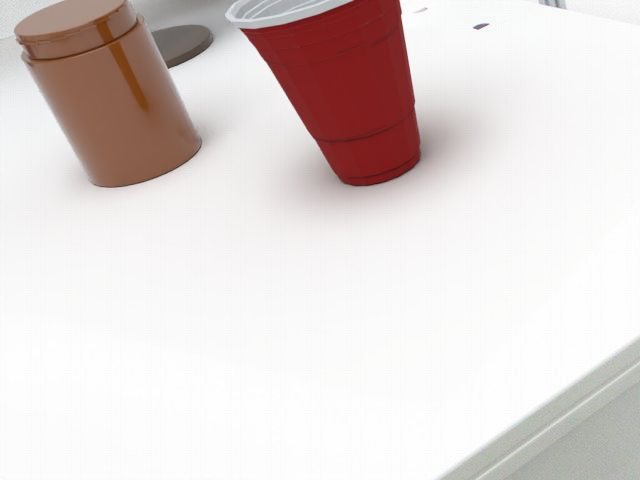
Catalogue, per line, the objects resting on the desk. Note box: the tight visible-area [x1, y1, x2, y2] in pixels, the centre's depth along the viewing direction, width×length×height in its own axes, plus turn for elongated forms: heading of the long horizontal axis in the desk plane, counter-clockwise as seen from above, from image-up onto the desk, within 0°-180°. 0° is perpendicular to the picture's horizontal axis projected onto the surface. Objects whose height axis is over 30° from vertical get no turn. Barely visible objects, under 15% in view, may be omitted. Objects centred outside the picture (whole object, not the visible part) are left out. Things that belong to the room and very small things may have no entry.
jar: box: [13, 0, 202, 188], centre depth 76 cm, size 8×8×11 cm
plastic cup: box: [224, 0, 421, 186], centre depth 68 cm, size 11×11×12 cm
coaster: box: [150, 24, 214, 69], centre depth 97 cm, size 10×10×1 cm
